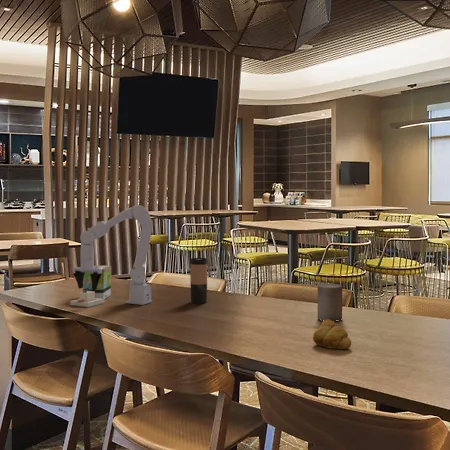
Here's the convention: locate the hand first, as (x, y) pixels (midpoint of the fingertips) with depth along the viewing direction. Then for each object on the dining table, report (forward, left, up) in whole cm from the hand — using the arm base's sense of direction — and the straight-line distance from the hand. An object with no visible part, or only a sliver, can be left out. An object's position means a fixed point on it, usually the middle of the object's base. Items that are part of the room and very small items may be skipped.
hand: (87, 288), depth 249 cm
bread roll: (-115, +21, -7) cm, 117 cm away
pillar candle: (-104, -19, -7) cm, 106 cm away
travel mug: (-41, -28, -7) cm, 50 cm away
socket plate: (0, 0, -7) cm, 7 cm away
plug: (0, 0, -7) cm, 7 cm away
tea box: (+7, -16, -7) cm, 19 cm away
